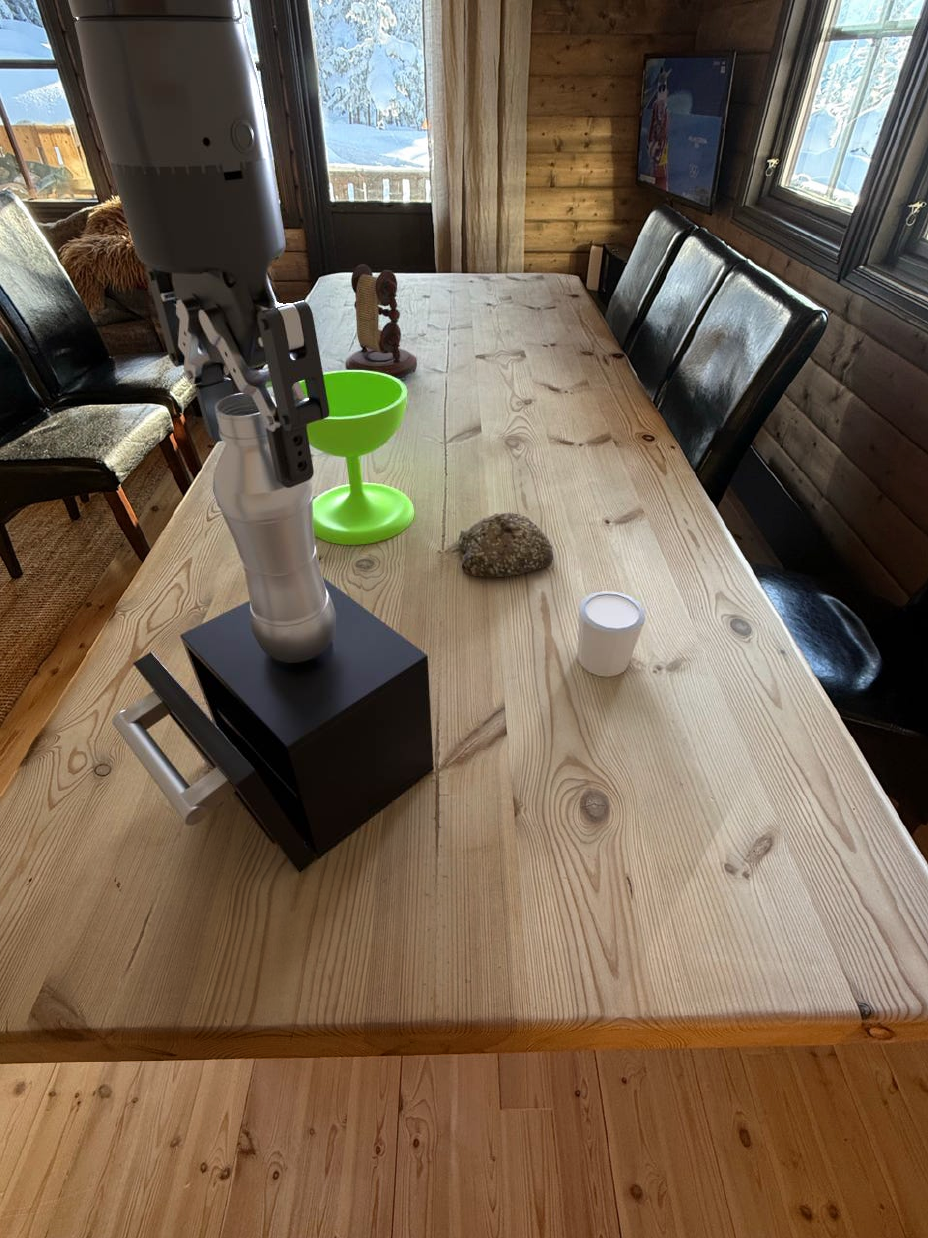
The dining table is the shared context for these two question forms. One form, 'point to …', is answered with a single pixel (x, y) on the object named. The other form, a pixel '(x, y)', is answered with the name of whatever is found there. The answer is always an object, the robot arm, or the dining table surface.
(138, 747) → the oven door
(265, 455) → the silver bottle
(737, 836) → the dining table surface
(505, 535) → the bread roll
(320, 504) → the wineglass
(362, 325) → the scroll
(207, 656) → the oven
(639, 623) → the white cylindrical container
